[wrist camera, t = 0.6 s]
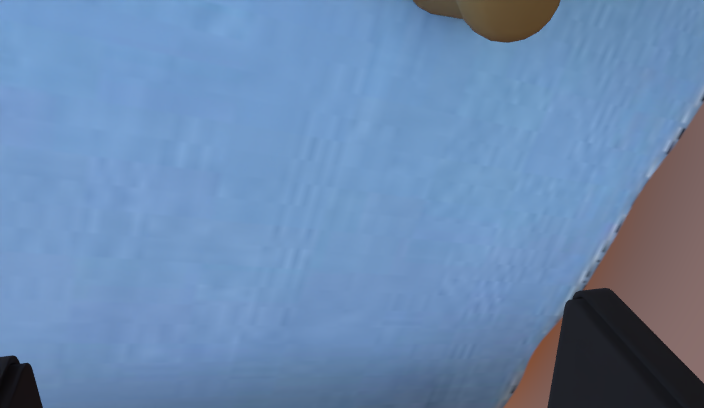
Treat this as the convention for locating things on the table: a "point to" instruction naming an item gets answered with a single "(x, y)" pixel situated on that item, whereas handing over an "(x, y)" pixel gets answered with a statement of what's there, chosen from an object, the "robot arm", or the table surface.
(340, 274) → the table surface
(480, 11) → the brown rounded tall piece
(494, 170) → the table surface
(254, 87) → the table surface
